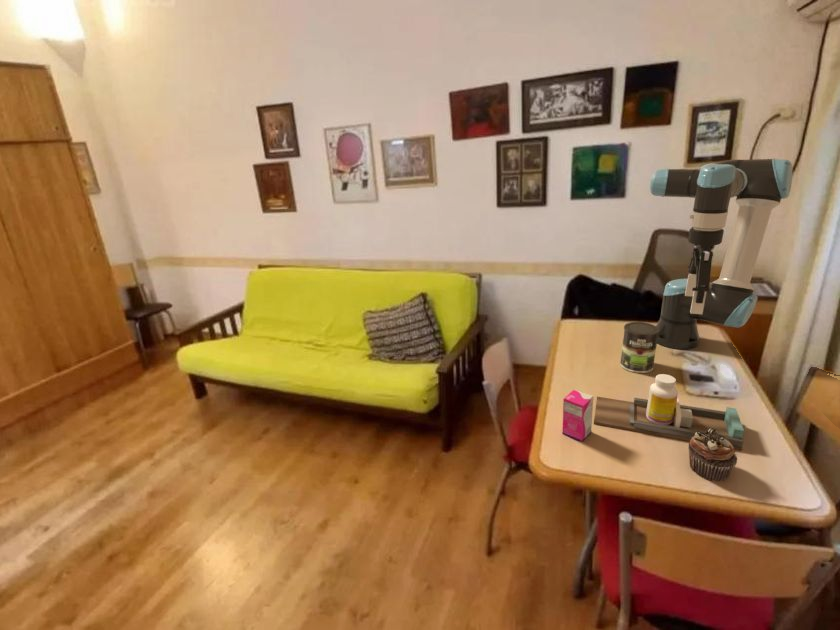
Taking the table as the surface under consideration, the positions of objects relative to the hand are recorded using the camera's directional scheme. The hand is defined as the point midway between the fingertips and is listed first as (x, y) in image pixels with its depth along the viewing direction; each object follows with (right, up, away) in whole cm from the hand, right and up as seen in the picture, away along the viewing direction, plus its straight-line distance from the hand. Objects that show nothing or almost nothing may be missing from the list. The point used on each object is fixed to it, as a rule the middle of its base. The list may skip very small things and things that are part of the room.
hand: (693, 304), depth 121 cm
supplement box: (-33, -35, -3) cm, 48 cm away
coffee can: (-2, -20, +27) cm, 34 cm away
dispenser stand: (-9, -32, -2) cm, 34 cm away
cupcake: (-8, -39, -18) cm, 44 cm away
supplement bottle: (-10, -32, -1) cm, 33 cm away
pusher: (-5, -32, -3) cm, 32 cm away
